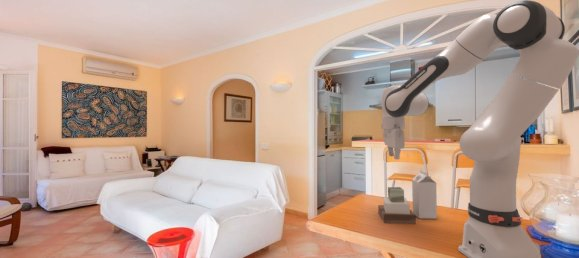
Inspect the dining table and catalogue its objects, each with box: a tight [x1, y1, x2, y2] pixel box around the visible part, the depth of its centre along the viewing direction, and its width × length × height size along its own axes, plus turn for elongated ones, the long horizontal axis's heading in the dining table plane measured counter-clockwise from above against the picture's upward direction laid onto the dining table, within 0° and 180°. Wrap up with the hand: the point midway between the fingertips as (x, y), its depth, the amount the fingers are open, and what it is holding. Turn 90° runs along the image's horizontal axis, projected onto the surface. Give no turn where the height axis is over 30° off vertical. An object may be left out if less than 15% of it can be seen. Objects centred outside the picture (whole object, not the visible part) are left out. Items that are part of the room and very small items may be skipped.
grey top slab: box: [382, 196, 411, 214], centre depth 109 cm, size 9×9×4 cm
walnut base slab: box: [377, 204, 417, 225], centre depth 109 cm, size 12×12×4 cm
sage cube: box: [387, 186, 405, 202], centre depth 109 cm, size 5×5×5 cm
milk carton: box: [411, 169, 438, 220], centre depth 111 cm, size 7×7×19 cm
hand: (393, 157), depth 110 cm, fingers open, 8 cm apart
